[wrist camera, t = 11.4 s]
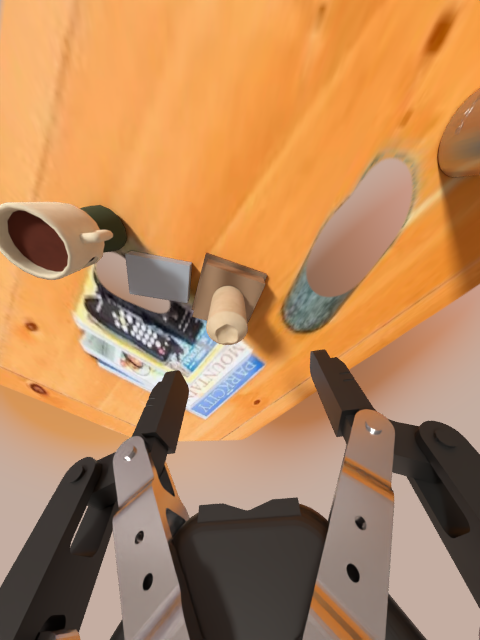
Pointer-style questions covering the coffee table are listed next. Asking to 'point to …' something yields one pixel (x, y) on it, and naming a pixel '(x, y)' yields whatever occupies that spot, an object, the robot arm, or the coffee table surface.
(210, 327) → the candle
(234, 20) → the coffee table surface
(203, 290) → the stand
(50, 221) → the character mug
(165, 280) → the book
